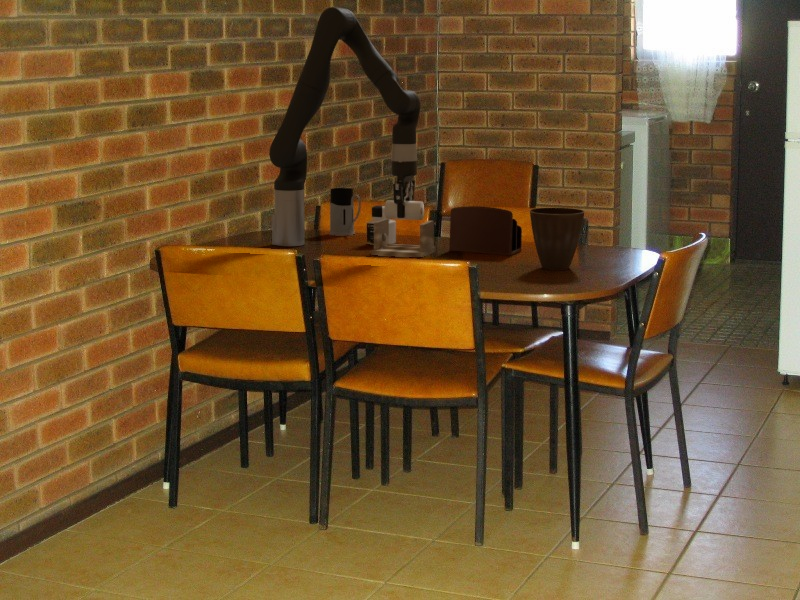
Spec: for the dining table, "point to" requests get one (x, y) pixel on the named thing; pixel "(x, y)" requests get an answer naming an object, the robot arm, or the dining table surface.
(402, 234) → the dining table surface
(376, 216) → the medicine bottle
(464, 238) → the letter holder
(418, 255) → the roll holder
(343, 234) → the glass holder
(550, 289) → the dining table surface
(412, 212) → the paper roll
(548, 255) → the plant pot
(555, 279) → the dining table surface
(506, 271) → the dining table surface
